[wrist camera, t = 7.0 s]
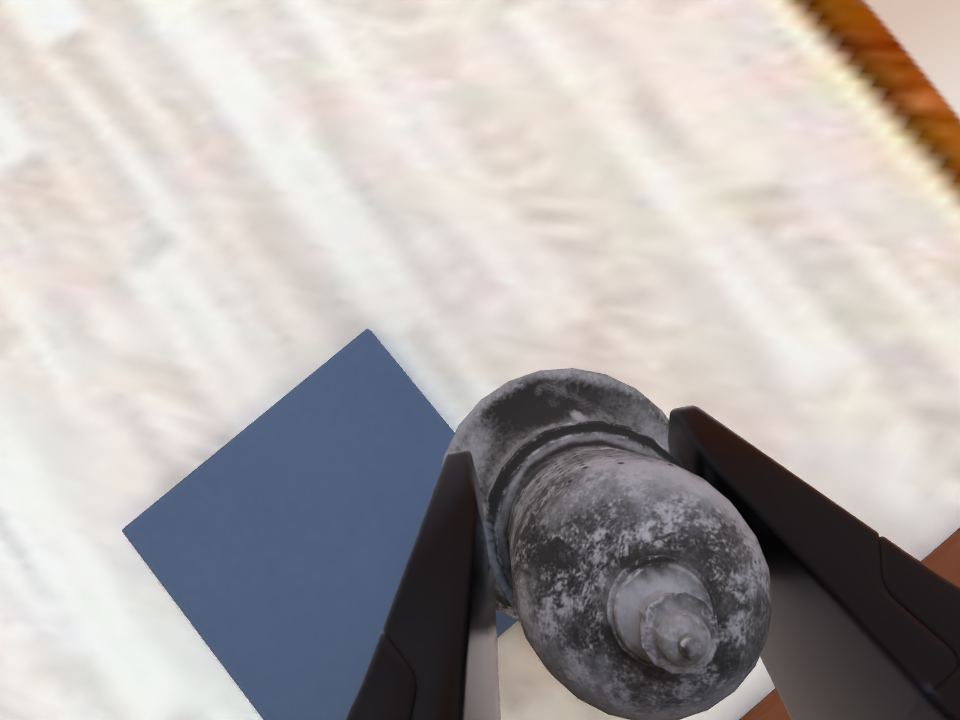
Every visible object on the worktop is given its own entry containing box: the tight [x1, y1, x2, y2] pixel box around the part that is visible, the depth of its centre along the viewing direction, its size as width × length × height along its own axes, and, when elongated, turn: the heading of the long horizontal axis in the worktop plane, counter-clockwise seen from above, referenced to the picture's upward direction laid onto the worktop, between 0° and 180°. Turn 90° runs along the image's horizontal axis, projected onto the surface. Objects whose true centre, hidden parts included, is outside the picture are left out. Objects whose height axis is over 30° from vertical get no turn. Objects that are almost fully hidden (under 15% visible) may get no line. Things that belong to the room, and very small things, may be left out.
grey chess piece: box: [442, 368, 773, 720], centre depth 11 cm, size 6×6×12 cm
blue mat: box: [122, 329, 517, 720], centre depth 22 cm, size 12×12×1 cm
